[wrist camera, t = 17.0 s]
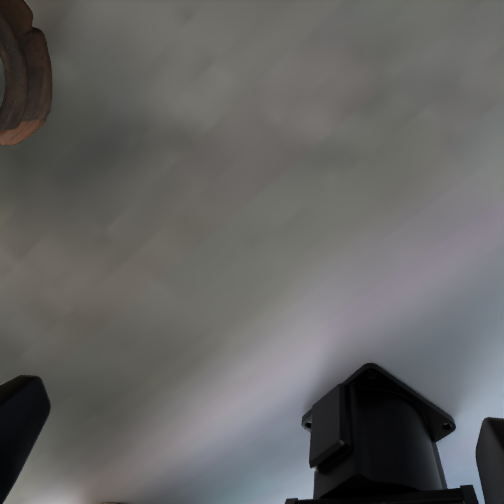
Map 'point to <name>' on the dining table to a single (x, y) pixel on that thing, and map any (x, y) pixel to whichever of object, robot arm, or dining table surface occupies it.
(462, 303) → the dining table surface
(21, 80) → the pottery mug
